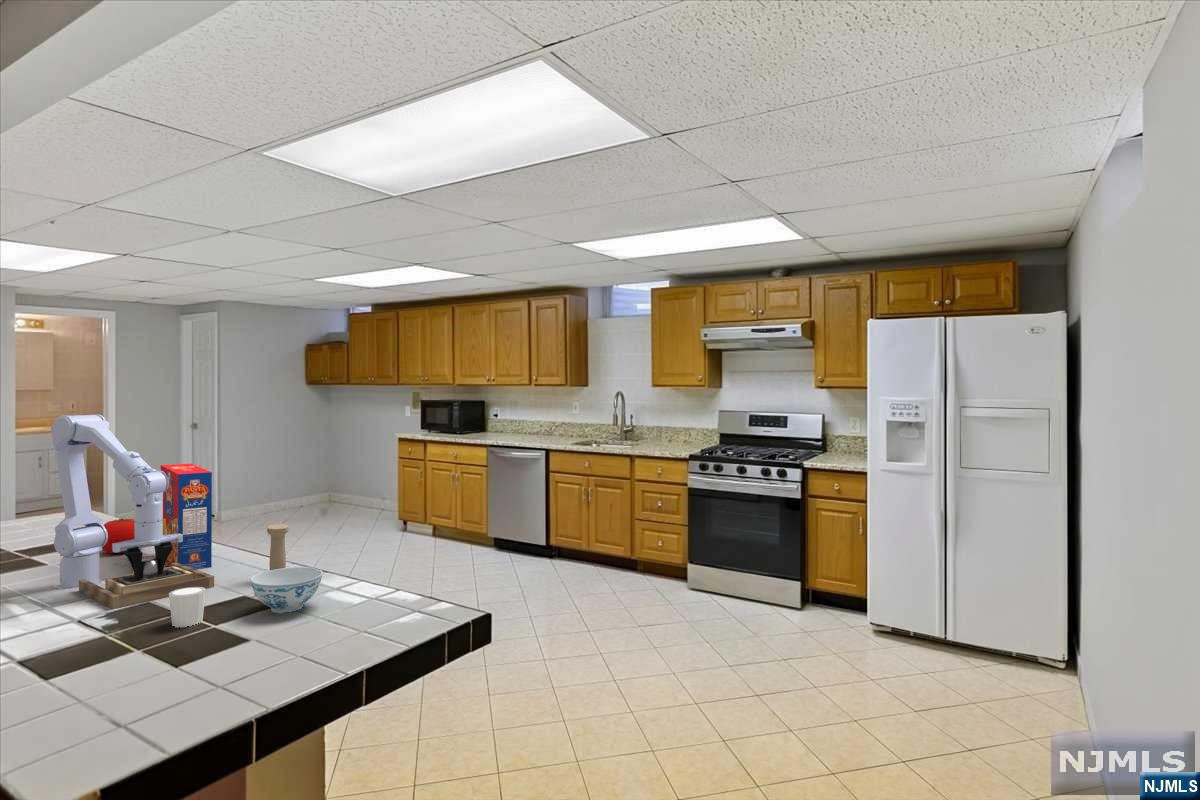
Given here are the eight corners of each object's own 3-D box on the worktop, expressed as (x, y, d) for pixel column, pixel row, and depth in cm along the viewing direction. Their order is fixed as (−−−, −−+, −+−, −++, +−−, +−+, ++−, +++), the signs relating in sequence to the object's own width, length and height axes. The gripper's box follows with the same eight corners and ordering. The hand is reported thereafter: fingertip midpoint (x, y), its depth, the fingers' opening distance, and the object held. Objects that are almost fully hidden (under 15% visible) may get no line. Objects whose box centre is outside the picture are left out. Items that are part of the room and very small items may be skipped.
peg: (135, 584, 162) (135, 560, 162) (153, 581, 165) (154, 557, 165) (143, 587, 159) (143, 562, 159) (161, 583, 163) (161, 559, 163)
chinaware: (336, 603, 157) (336, 571, 157) (282, 623, 143) (282, 588, 143) (291, 595, 163) (291, 564, 163) (235, 613, 149) (235, 579, 149)
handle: (269, 588, 169) (269, 529, 168) (265, 582, 174) (265, 525, 174) (289, 585, 171) (290, 527, 171) (285, 579, 177) (285, 523, 176)
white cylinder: (213, 619, 145) (213, 588, 145) (184, 630, 139) (184, 597, 139) (190, 616, 147) (190, 584, 147) (160, 626, 141) (160, 593, 141)
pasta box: (160, 557, 199) (160, 465, 198) (191, 553, 204) (191, 463, 204) (177, 577, 178) (178, 474, 178) (211, 572, 183) (211, 472, 183)
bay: (78, 596, 160) (78, 580, 160) (175, 577, 178) (175, 562, 178) (113, 614, 148) (113, 597, 148) (214, 592, 165) (214, 576, 165)
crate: (105, 593, 159) (105, 579, 159) (174, 579, 171) (174, 566, 171) (123, 602, 152) (123, 587, 152) (193, 587, 165) (193, 573, 165)
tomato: (115, 546, 211) (115, 514, 211) (157, 546, 213) (157, 514, 213) (85, 558, 197) (85, 523, 197) (131, 557, 199) (131, 522, 198)
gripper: (120, 527, 154) (120, 585, 154) (188, 518, 166) (187, 572, 166) (109, 524, 158) (108, 580, 158) (175, 515, 170) (175, 567, 170)
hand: (148, 576), depth 162 cm, fingers closed on peg, 4 cm apart
